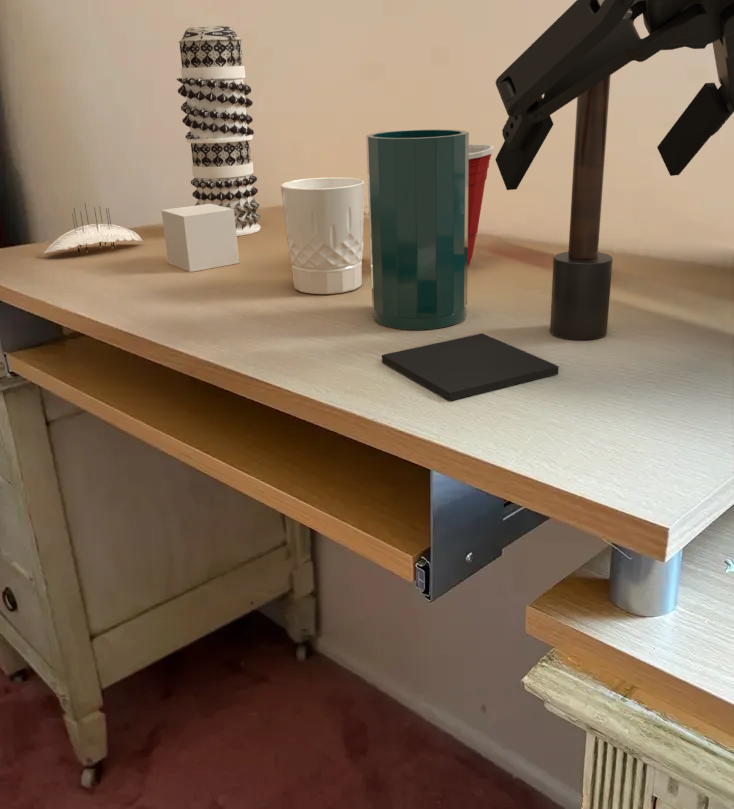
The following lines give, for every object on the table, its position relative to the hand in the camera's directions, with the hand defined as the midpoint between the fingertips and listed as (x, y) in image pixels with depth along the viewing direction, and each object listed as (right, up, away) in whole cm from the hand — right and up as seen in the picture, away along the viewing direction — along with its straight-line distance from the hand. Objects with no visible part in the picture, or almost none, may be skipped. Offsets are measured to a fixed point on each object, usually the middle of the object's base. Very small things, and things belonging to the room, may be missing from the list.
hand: (589, 167), depth 61 cm
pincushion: (-50, +1, +42) cm, 65 cm away
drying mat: (-9, -15, -2) cm, 17 cm away
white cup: (-20, -6, +21) cm, 30 cm away
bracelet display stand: (-35, +6, +51) cm, 62 cm away
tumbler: (-12, -10, +11) cm, 19 cm away
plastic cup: (-8, -2, +28) cm, 30 cm away
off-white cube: (-35, -1, +33) cm, 48 cm away
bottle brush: (+1, -12, +5) cm, 13 cm away
